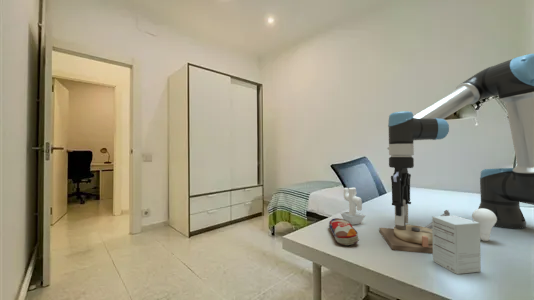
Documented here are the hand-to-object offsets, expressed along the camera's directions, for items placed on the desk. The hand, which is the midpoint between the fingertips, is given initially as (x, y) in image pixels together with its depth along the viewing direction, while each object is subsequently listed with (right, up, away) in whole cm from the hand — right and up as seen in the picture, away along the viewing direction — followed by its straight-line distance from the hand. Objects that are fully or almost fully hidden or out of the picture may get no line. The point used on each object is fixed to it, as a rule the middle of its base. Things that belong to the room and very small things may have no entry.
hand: (401, 223), depth 82 cm
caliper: (+20, -6, +11) cm, 24 cm away
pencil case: (-20, -6, +4) cm, 21 cm away
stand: (+3, -6, -2) cm, 7 cm away
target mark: (+2, -4, -10) cm, 11 cm away
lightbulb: (+27, -6, -2) cm, 28 cm away
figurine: (-10, -6, +19) cm, 22 cm away
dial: (+3, -4, -2) cm, 6 cm away
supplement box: (+3, -6, -19) cm, 20 cm away
